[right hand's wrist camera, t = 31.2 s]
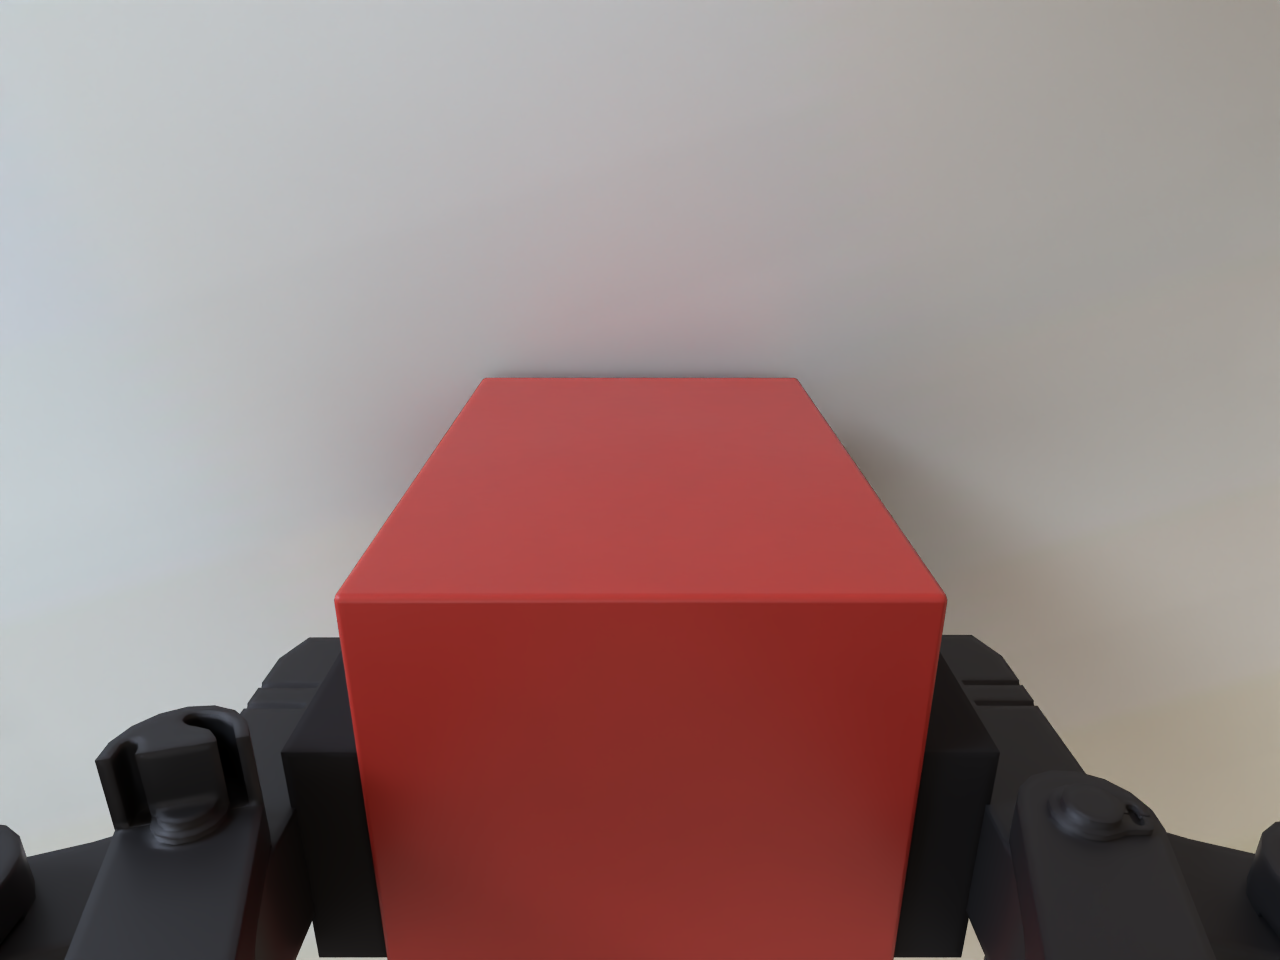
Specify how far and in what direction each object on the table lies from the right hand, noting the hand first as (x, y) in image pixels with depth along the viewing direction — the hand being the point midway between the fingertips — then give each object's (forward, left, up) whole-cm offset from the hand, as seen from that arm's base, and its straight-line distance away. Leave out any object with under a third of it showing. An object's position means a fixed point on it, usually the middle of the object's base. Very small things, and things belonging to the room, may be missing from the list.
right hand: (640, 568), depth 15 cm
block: (0, 0, -1) cm, 1 cm away
